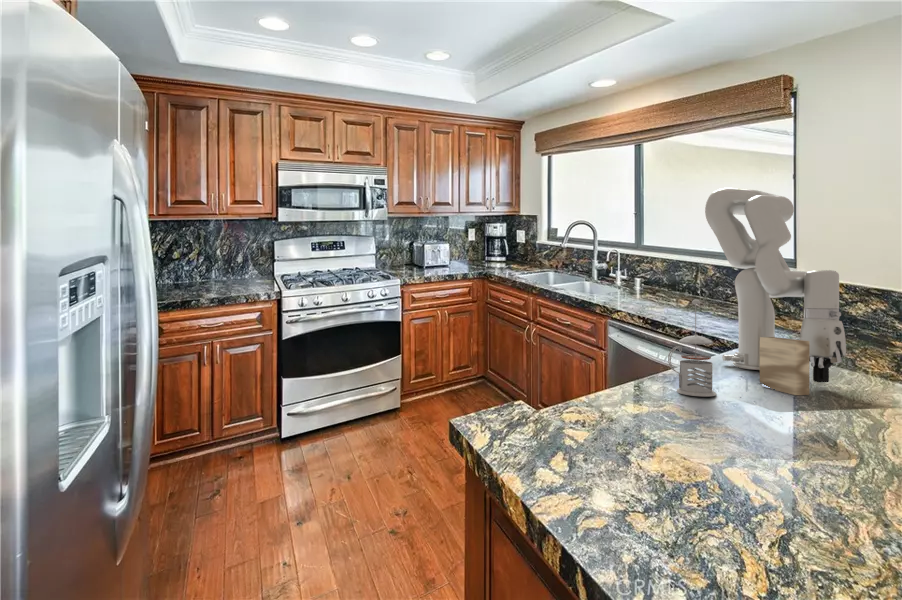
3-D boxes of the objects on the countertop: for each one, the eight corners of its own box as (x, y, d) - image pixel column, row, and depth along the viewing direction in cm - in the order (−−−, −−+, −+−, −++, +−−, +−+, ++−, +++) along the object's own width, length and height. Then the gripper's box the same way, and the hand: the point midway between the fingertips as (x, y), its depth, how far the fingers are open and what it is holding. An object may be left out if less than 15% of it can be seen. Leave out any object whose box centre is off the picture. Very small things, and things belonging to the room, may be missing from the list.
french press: (722, 397, 117) (723, 299, 117) (673, 395, 120) (673, 299, 119) (709, 389, 127) (709, 299, 127) (664, 387, 129) (664, 299, 129)
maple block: (795, 395, 119) (795, 341, 119) (759, 386, 131) (759, 337, 131) (809, 394, 120) (809, 341, 119) (772, 385, 131) (772, 336, 131)
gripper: (860, 316, 119) (860, 386, 119) (809, 314, 134) (809, 376, 134) (834, 316, 118) (834, 387, 119) (786, 314, 133) (785, 377, 133)
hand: (820, 381), depth 126 cm, fingers closed
